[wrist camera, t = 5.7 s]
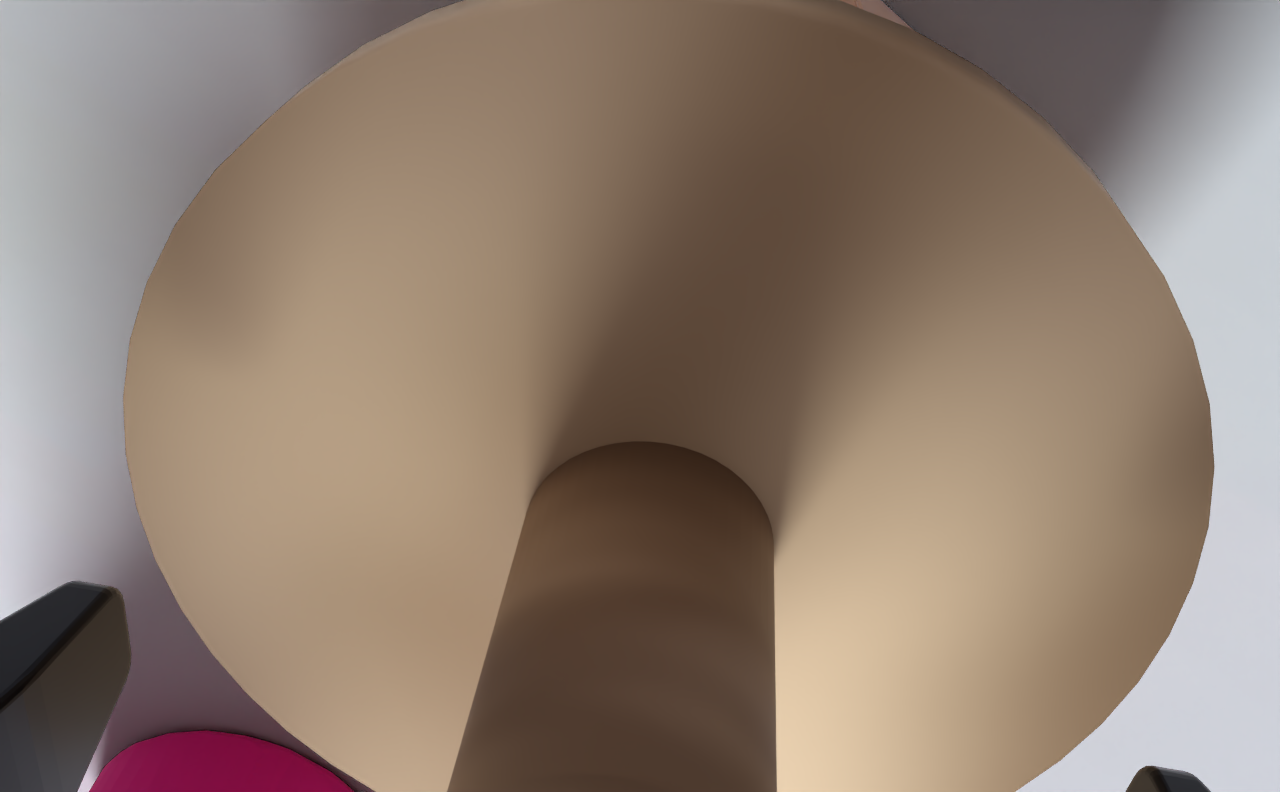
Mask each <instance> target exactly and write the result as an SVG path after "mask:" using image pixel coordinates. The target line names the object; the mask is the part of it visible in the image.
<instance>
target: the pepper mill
mask: <svg viewBox="0 0 1280 792" xmlns="http://www.w3.org/2000/svg"><path fill="white" fill-rule="evenodd" d="M89 792H354V791H353V790H352V789H351V788H350V787H349V786H348V785H346V784H345V783H344V782H343V781H342V780H341V779H339V778H338V777H337V776H336V775H335V774H333V773H332V772H330V771H329V770H327V769H325V768H323V767H321V766H320V765H318V764H316V763H314V762H312V761H311V760H309V759H307V758H305V757H303V756H301V755H300V754H298V753H296V752H294V751H292V750H290V749H288V748H285V747H282V746H279V745H276V744H273V743H270V742H267V741H264V740H260V739H256V738H253V737H249V736H244V735H237V734H231V733H224V732H216V731H205V730H204V731H190V732H176V733H167V734H164V735H161V736H157V737H154V738H151V739H148V740H144V741H141V742H138V743H135V744H133V745H132V746H130V747H128V748H126V749H125V750H123V751H121V752H120V753H119V754H118V755H117V756H115V757H114V758H113V759H112V760H111V761H110V762H109V763H108V764H107V765H106V766H105V767H104V768H103V770H102V771H101V773H100V775H99V776H98V778H97V780H96V781H95V783H94V784H93V786H92V788H91V789H90V791H89Z"/></svg>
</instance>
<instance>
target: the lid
mask: <svg viewBox="0 0 1280 792" xmlns="http://www.w3.org/2000/svg"><path fill="white" fill-rule="evenodd" d="M123 406H124V428H125V450H126V458H127V463H128V468H129V473H130V478H131V483H132V488H133V492H134V497H135V502H136V507H137V511H138V513H139V516H140V519H141V522H142V524H143V527H144V530H145V533H146V536H147V538H148V541H149V544H150V547H151V549H152V552H153V555H154V558H155V560H156V562H157V564H158V566H159V568H160V570H161V572H162V574H163V576H164V578H165V580H166V582H167V584H168V585H169V587H170V589H171V591H172V593H173V595H174V597H175V599H176V601H177V603H178V605H179V607H180V608H181V610H182V611H183V613H184V614H185V616H186V617H187V619H188V620H189V622H190V623H191V624H192V626H193V627H194V629H195V630H196V632H197V633H198V635H199V636H200V638H201V639H202V640H203V642H204V643H205V645H206V646H207V648H208V649H209V651H210V652H211V653H212V655H213V656H214V657H215V658H216V659H217V660H218V661H219V663H220V664H221V665H222V666H223V667H224V668H225V669H226V671H227V672H228V673H229V674H230V675H231V676H232V677H233V679H234V680H235V681H236V682H237V683H238V684H239V685H240V687H241V688H242V689H243V690H244V691H245V692H246V693H247V695H248V696H250V697H251V698H252V699H253V700H254V701H255V702H256V703H257V704H258V705H259V706H260V707H262V708H263V709H264V710H265V711H266V712H267V713H268V714H269V715H270V716H271V717H272V718H273V719H275V720H276V721H277V722H278V723H279V724H280V725H281V726H282V727H283V728H284V729H285V730H286V731H288V732H289V733H290V734H292V735H293V736H294V737H295V738H297V739H298V740H299V741H301V742H302V743H303V744H305V745H306V746H307V747H309V748H310V749H311V750H313V751H314V752H315V753H317V754H318V755H319V756H321V757H322V758H323V759H325V760H326V761H327V762H329V763H330V764H331V765H333V766H335V767H336V768H338V769H340V770H341V771H343V772H344V773H346V774H348V775H349V776H351V777H353V778H354V779H356V780H357V781H359V782H361V783H362V784H364V785H366V786H367V787H369V788H370V789H372V790H374V791H375V792H1015V791H1017V790H1018V789H1020V788H1021V787H1023V786H1024V785H1025V784H1027V783H1028V782H1030V781H1031V780H1033V779H1034V778H1036V777H1037V776H1039V775H1040V774H1041V773H1043V772H1044V771H1046V770H1047V769H1049V768H1050V767H1052V766H1053V765H1054V764H1056V763H1057V762H1059V761H1060V760H1061V759H1062V758H1064V757H1065V756H1066V755H1067V754H1068V753H1069V752H1070V751H1072V750H1073V749H1074V748H1075V747H1076V746H1077V745H1078V744H1079V743H1081V742H1082V741H1083V740H1084V739H1085V738H1086V737H1087V736H1089V735H1090V734H1091V733H1092V732H1093V731H1094V730H1095V729H1097V728H1098V727H1099V726H1100V725H1101V724H1102V723H1103V722H1104V721H1105V720H1106V718H1107V717H1108V716H1109V715H1110V714H1111V713H1112V712H1113V710H1114V709H1115V708H1116V707H1117V706H1118V705H1119V704H1120V702H1121V701H1122V700H1123V699H1124V698H1125V697H1126V696H1127V694H1128V693H1129V692H1130V691H1131V690H1132V689H1133V688H1134V687H1135V685H1136V684H1137V683H1138V682H1139V680H1140V679H1141V677H1142V676H1143V674H1144V673H1145V671H1146V670H1147V668H1148V667H1149V665H1150V664H1151V662H1152V661H1153V659H1154V657H1155V656H1156V654H1157V653H1158V651H1159V650H1160V648H1161V647H1162V645H1163V644H1164V642H1165V641H1166V639H1167V638H1168V636H1169V634H1170V632H1171V630H1172V628H1173V626H1174V624H1175V621H1176V619H1177V617H1178V615H1179V613H1180V610H1181V608H1182V606H1183V604H1184V602H1185V599H1186V597H1187V595H1188V593H1189V591H1190V589H1191V586H1192V584H1193V581H1194V578H1195V574H1196V570H1197V567H1198V563H1199V559H1200V556H1201V552H1202V549H1203V545H1204V541H1205V538H1206V534H1207V530H1208V527H1209V516H1210V506H1211V496H1212V486H1213V476H1214V455H1213V442H1212V429H1211V416H1210V404H1209V400H1208V396H1207V392H1206V388H1205V384H1204V380H1203V377H1202V373H1201V369H1200V365H1199V361H1198V357H1197V353H1196V349H1195V345H1194V342H1193V339H1192V337H1191V334H1190V332H1189V330H1188V328H1187V326H1186V323H1185V321H1184V319H1183V317H1182V314H1181V312H1180V310H1179V308H1178V306H1177V303H1176V301H1175V299H1174V297H1173V295H1172V292H1171V290H1170V288H1169V286H1168V284H1167V281H1166V279H1165V277H1164V275H1163V274H1162V272H1161V271H1160V269H1159V268H1158V266H1157V265H1156V263H1155V262H1154V260H1153V259H1152V257H1151V256H1150V255H1149V253H1148V252H1147V250H1146V249H1145V247H1144V246H1143V244H1142V243H1141V241H1140V240H1139V238H1138V237H1137V235H1136V234H1135V232H1134V231H1133V229H1132V228H1131V226H1130V225H1129V223H1128V222H1127V220H1126V219H1125V217H1124V216H1123V214H1122V213H1121V211H1120V210H1119V209H1118V207H1117V206H1116V204H1115V203H1114V201H1113V200H1112V198H1111V197H1110V195H1109V194H1108V192H1107V191H1106V189H1105V188H1104V186H1103V185H1102V183H1101V182H1100V181H1099V179H1098V178H1097V176H1096V175H1095V173H1094V172H1093V170H1092V169H1091V168H1090V167H1089V166H1088V165H1087V164H1086V163H1085V162H1084V161H1083V160H1082V159H1081V158H1080V156H1079V155H1078V154H1077V153H1076V152H1075V151H1074V150H1073V149H1072V148H1071V147H1070V146H1069V145H1068V144H1067V143H1066V141H1065V140H1064V139H1063V138H1062V137H1061V136H1060V135H1059V134H1058V133H1057V132H1056V131H1055V130H1054V129H1053V128H1052V126H1051V125H1050V124H1049V123H1048V122H1047V121H1046V120H1045V119H1044V118H1043V117H1042V116H1041V115H1039V114H1038V113H1037V112H1036V111H1034V110H1033V109H1032V108H1031V107H1029V106H1028V105H1027V104H1025V103H1024V102H1023V101H1022V100H1020V99H1019V98H1018V97H1017V96H1015V95H1014V94H1013V93H1012V92H1010V91H1009V90H1008V89H1006V88H1005V87H1004V86H1003V85H1001V84H1000V83H999V82H998V81H996V80H995V79H994V78H993V77H991V76H990V75H989V74H987V73H986V72H985V71H984V70H982V69H981V68H979V67H977V66H976V65H974V64H972V63H970V62H969V61H967V60H965V59H963V58H962V57H960V56H958V55H956V54H955V53H953V52H951V51H949V50H948V49H946V48H944V47H942V46H941V45H939V44H937V43H935V42H934V41H932V40H930V39H928V38H927V37H925V36H923V35H922V34H920V33H918V32H916V31H915V30H913V29H911V28H908V27H906V26H903V25H900V24H898V23H895V22H893V21H890V20H888V19H885V18H883V17H880V16H878V15H875V14H873V13H870V12H868V11H865V10H863V9H860V8H858V7H855V6H853V5H850V4H848V3H845V2H843V1H840V0H463V1H460V2H457V3H454V4H451V5H448V6H445V7H442V8H439V9H436V10H432V11H430V12H428V13H426V14H424V15H422V16H420V17H418V18H416V19H414V20H412V21H410V22H408V23H406V24H404V25H402V26H400V27H398V28H396V29H394V30H392V31H390V32H388V33H386V34H384V35H382V36H380V37H378V38H376V39H374V40H372V41H370V42H368V43H366V44H364V45H362V46H361V47H360V48H358V49H357V50H355V51H354V52H352V53H351V54H350V55H348V56H347V57H345V58H344V59H343V60H341V61H340V62H338V63H337V64H335V65H334V66H333V67H331V68H330V69H328V70H327V71H326V72H324V73H323V74H321V75H320V76H319V77H317V78H316V79H314V80H313V81H311V82H310V83H309V84H307V85H306V86H305V87H303V88H302V89H301V90H300V91H299V92H298V93H297V94H296V95H294V96H293V97H292V98H291V99H290V100H289V101H288V102H286V103H285V104H284V105H283V106H282V107H281V108H280V109H279V110H277V111H276V112H275V113H274V114H273V115H272V116H271V117H269V118H268V119H267V120H266V121H265V122H264V123H263V124H262V125H261V126H260V127H259V128H258V129H257V130H256V131H255V132H254V133H253V134H252V135H251V136H250V137H249V138H248V139H247V140H246V141H245V142H244V143H242V144H241V145H240V146H239V147H238V148H237V149H236V150H235V151H234V152H233V153H232V154H231V155H230V156H229V157H228V158H227V159H226V160H225V161H224V162H223V163H222V164H221V165H220V166H219V167H218V168H217V169H216V170H215V171H214V172H213V174H212V175H211V176H210V178H209V179H208V181H207V182H206V183H205V185H204V186H203V187H202V189H201V190H200V192H199V193H198V194H197V196H196V197H195V198H194V200H193V201H192V203H191V204H190V205H189V207H188V208H187V209H186V211H185V212H184V213H183V215H182V216H181V218H180V219H179V220H178V222H177V223H176V224H175V226H174V228H173V230H172V232H171V234H170V236H169V238H168V240H167V242H166V244H165V246H164V249H163V251H162V253H161V255H160V257H159V259H158V261H157V263H156V265H155V267H154V269H153V271H152V273H151V275H150V277H149V279H148V281H147V284H146V287H145V290H144V294H143V297H142V301H141V304H140V307H139V311H138V314H137V318H136V321H135V324H134V328H133V331H132V335H131V338H130V343H129V352H128V360H127V369H126V377H125V386H124V394H123Z"/></svg>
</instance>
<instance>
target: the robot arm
mask: <svg viewBox="0 0 1280 792" xmlns="http://www.w3.org/2000/svg"><path fill="white" fill-rule="evenodd" d="M130 664H131V647H130V640H129V633H128V626H127V619H126V612H125V605H124V600H123V596H122V594H121V593H120V591H119V590H118V589H116V588H114V587H111V586H105V585H99V584H94V583H88V582H82V581H72V582H69V583H66V584H63V585H61V586H59V587H58V588H56V589H54V590H53V591H51V592H49V593H47V594H46V595H44V596H42V597H40V598H39V599H37V600H35V601H33V602H32V603H30V604H28V605H27V606H25V607H23V608H21V609H20V610H18V611H16V612H14V613H13V614H11V615H9V616H7V617H6V618H4V619H2V620H1V621H0V792H77V791H78V789H79V787H80V784H81V782H82V780H83V778H84V775H85V773H86V771H87V769H88V766H89V764H90V762H91V759H92V757H93V755H94V753H95V750H96V748H97V746H98V744H99V741H100V739H101V737H102V734H103V732H104V730H105V728H106V725H107V723H108V721H109V719H110V716H111V714H112V712H113V710H114V707H115V705H116V703H117V700H118V698H119V696H120V694H121V691H122V689H123V687H124V685H125V682H126V680H127V677H128V673H129V670H130ZM1126 792H1211V791H1210V790H1209V789H1208V788H1207V787H1206V786H1205V785H1204V784H1203V783H1202V782H1201V781H1200V780H1199V779H1198V778H1197V777H1195V776H1194V775H1193V774H1190V773H1188V772H1185V771H1179V770H1174V769H1168V768H1162V767H1156V766H1145V767H1144V768H1142V769H1140V770H1139V771H1138V772H1137V773H1136V775H1135V776H1134V778H1133V780H1132V781H1131V783H1130V785H1129V787H1128V788H1127V790H1126Z"/></svg>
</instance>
